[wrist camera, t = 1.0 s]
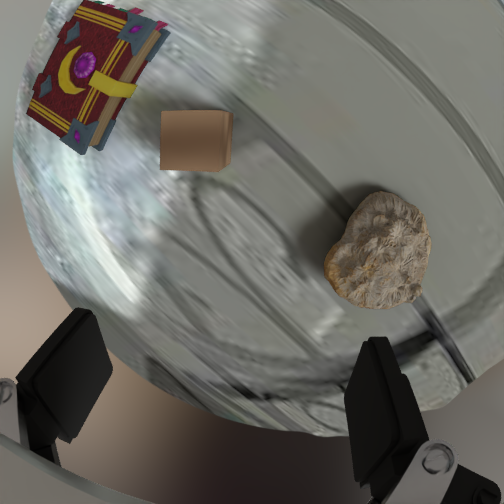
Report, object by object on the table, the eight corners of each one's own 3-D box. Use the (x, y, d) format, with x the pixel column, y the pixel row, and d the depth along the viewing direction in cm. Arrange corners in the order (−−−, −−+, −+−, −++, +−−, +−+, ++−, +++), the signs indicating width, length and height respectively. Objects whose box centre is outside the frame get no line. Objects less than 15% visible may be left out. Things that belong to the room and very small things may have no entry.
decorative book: (47, 112, 27) (20, 114, 22) (108, -1, 21) (85, -13, 16) (104, 150, 29) (78, 156, 24) (178, 25, 23) (161, 10, 18)
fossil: (366, 171, 27) (456, 215, 21) (382, 204, 33) (451, 242, 27) (304, 273, 28) (387, 334, 22) (332, 286, 35) (397, 333, 29)
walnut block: (184, 113, 26) (161, 111, 21) (233, 113, 26) (221, 110, 21) (182, 160, 28) (160, 169, 23) (230, 163, 28) (218, 172, 23)
